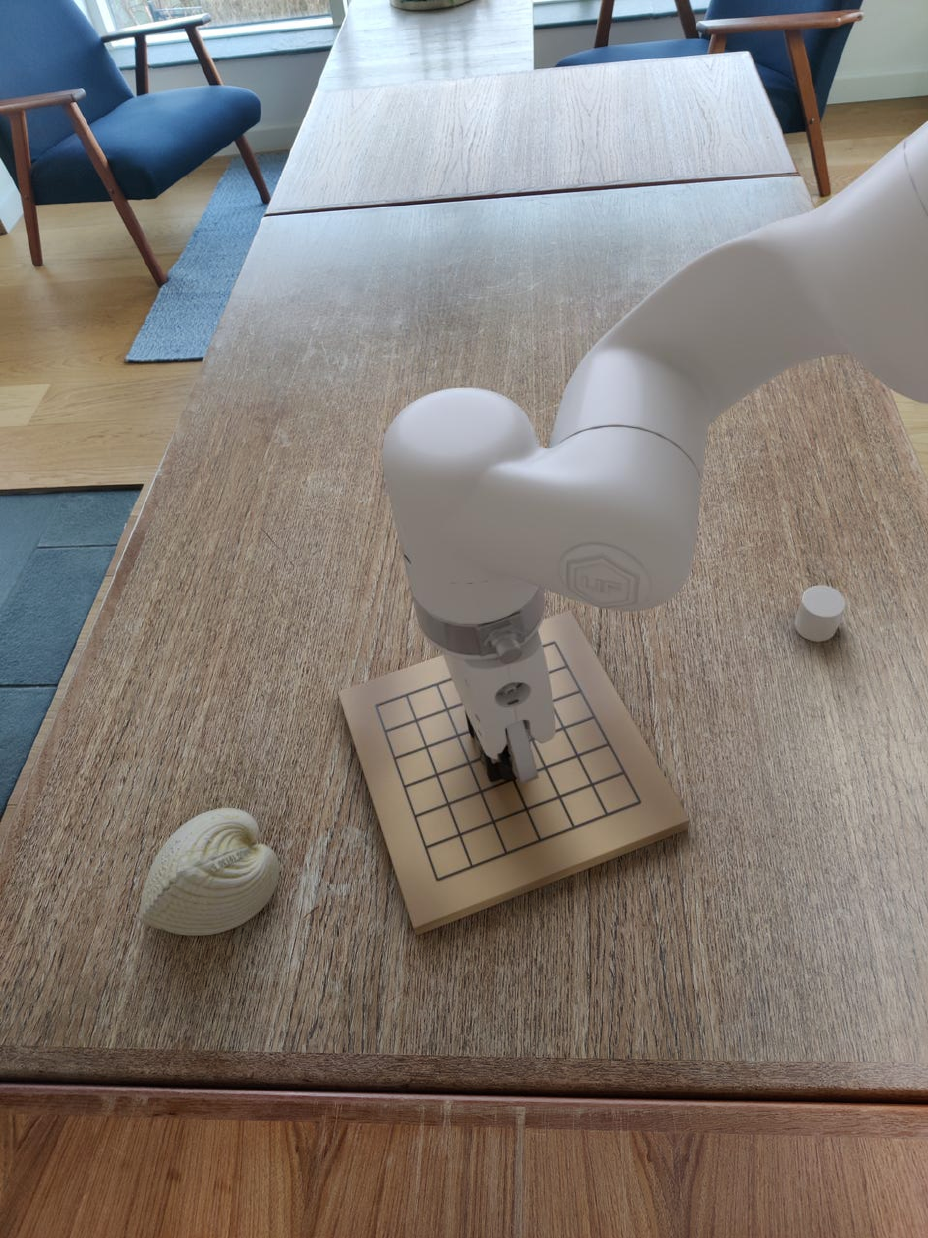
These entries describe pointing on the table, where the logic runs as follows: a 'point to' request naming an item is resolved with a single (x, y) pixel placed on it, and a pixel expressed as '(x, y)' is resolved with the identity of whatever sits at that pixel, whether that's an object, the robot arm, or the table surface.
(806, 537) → the table surface
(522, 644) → the robot arm
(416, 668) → the board
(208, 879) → the seashell
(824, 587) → the grey cylinder
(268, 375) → the table surface
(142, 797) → the table surface
